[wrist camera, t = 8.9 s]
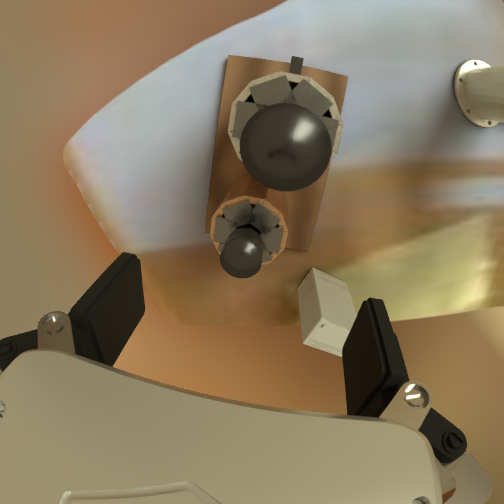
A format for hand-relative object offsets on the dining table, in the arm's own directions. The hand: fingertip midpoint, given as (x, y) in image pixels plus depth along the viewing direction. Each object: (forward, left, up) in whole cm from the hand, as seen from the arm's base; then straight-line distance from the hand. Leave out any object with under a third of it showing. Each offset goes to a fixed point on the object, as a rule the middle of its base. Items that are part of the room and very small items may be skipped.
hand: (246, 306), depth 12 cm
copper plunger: (+2, +8, -33) cm, 34 cm away
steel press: (0, -7, -36) cm, 37 cm away
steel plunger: (0, -6, -24) cm, 24 cm away
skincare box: (-13, +22, -38) cm, 46 cm away
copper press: (+2, +10, -36) cm, 37 cm away
